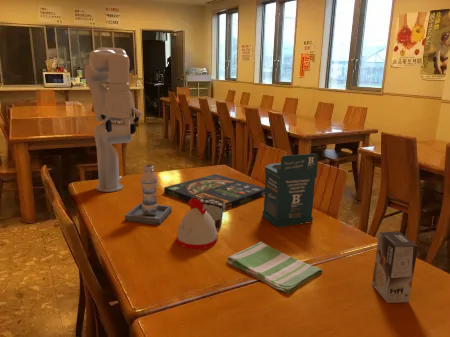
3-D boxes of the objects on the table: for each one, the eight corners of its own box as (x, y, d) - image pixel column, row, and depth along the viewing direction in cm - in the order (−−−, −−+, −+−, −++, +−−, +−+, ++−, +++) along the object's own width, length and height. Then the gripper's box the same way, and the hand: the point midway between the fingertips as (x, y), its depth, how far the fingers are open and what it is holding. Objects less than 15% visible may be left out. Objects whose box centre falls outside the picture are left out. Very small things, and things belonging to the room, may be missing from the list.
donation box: (276, 227, 143) (281, 155, 136) (257, 212, 157) (261, 147, 150) (312, 222, 148) (318, 153, 141) (291, 208, 163) (296, 145, 156)
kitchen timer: (199, 228, 140) (199, 190, 136) (225, 241, 130) (226, 200, 126) (169, 239, 130) (168, 198, 126) (194, 253, 121) (195, 209, 117)
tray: (139, 208, 157) (139, 203, 157) (171, 211, 155) (171, 206, 154) (125, 221, 144) (124, 215, 143) (159, 224, 142) (159, 218, 141)
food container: (230, 224, 144) (230, 199, 142) (223, 230, 139) (224, 204, 136) (201, 218, 149) (202, 194, 147) (194, 223, 144) (194, 199, 141)
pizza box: (267, 195, 181) (267, 188, 180) (218, 214, 156) (218, 206, 155) (214, 180, 203) (214, 174, 202) (164, 194, 178) (164, 187, 177)
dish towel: (286, 297, 99) (287, 288, 99) (224, 264, 115) (224, 256, 115) (322, 273, 112) (323, 265, 111) (261, 247, 128) (262, 239, 127)
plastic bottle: (160, 212, 152) (159, 164, 147) (155, 218, 146) (154, 168, 141) (144, 210, 153) (143, 163, 148) (139, 217, 146) (137, 167, 141)
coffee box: (410, 302, 98) (420, 246, 94) (386, 303, 97) (395, 246, 93) (392, 283, 107) (400, 231, 102) (370, 283, 106) (377, 231, 102)
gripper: (93, 87, 139) (95, 132, 144) (137, 90, 136) (138, 136, 141) (102, 86, 146) (104, 129, 151) (145, 88, 143) (145, 132, 148)
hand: (120, 132), depth 146 cm, fingers open, 9 cm apart
